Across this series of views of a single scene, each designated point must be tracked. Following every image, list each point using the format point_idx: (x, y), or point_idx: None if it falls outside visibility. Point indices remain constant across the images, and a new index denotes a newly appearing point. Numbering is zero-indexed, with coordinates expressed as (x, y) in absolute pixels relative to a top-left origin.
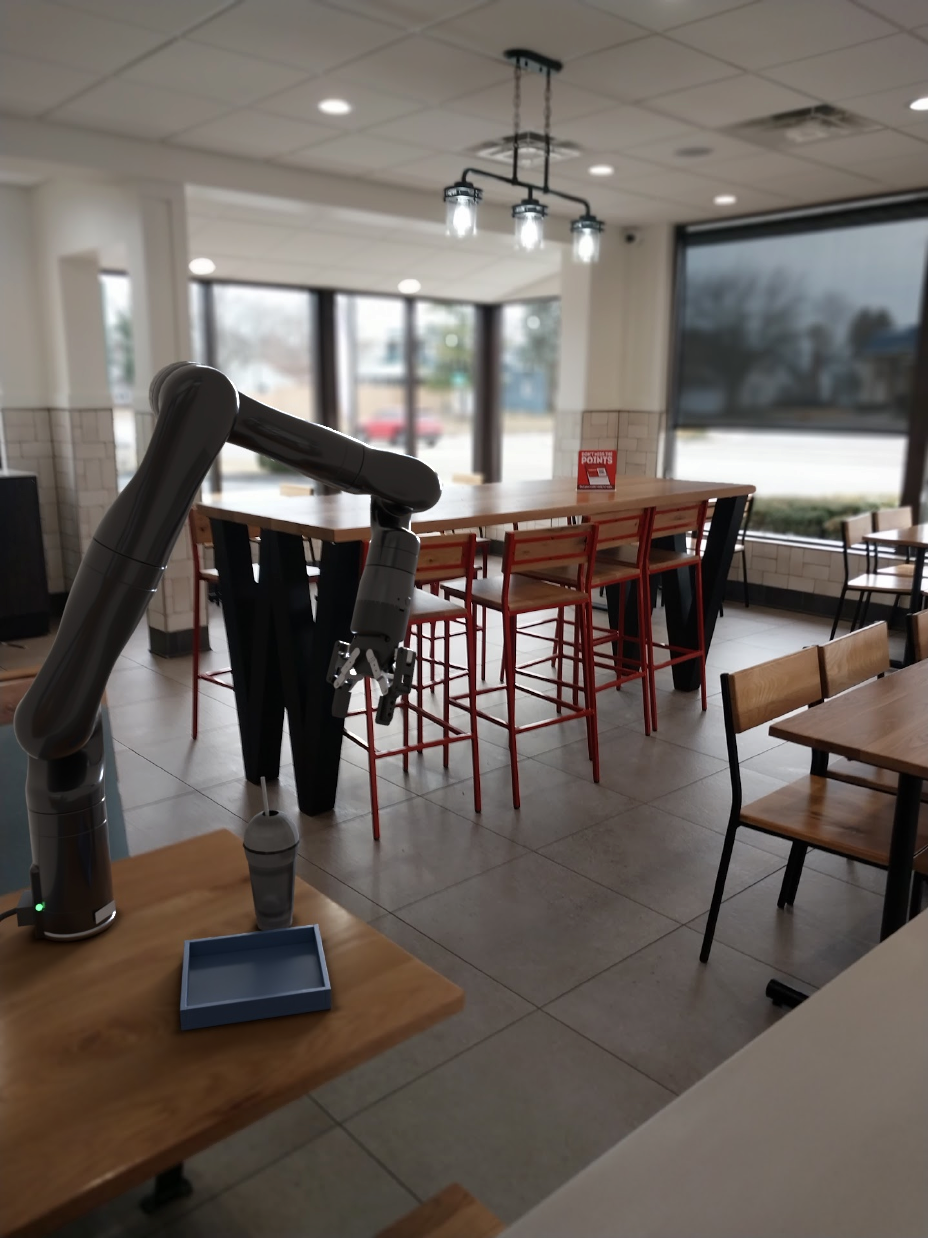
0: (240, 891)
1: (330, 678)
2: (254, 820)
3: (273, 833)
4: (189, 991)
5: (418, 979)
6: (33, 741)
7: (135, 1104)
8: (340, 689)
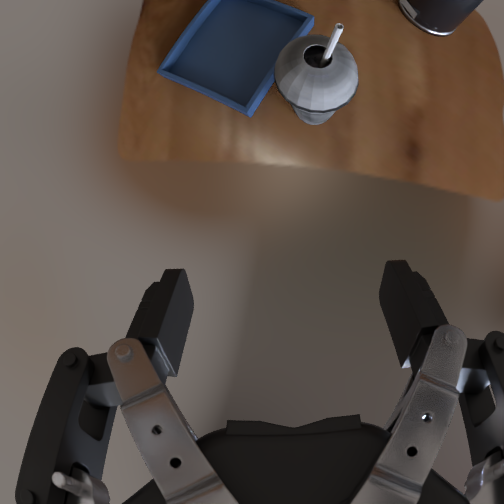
0: (396, 125)
1: (493, 346)
2: (323, 38)
3: (283, 49)
4: (260, 6)
5: (144, 152)
6: None
7: None
8: (428, 336)
